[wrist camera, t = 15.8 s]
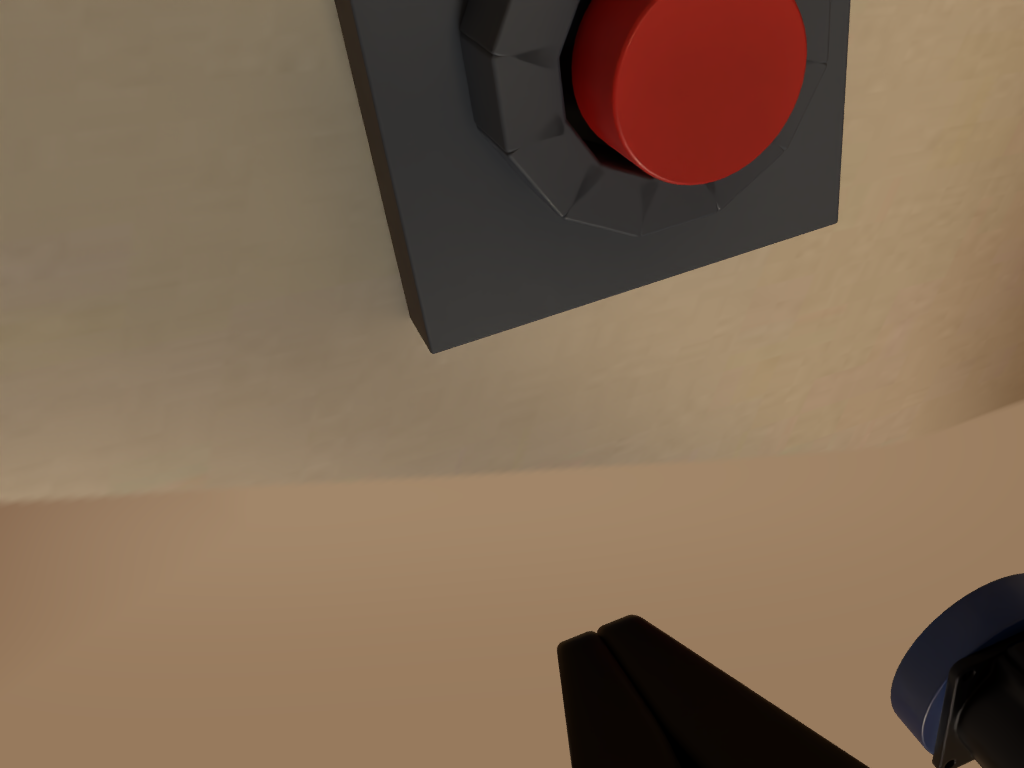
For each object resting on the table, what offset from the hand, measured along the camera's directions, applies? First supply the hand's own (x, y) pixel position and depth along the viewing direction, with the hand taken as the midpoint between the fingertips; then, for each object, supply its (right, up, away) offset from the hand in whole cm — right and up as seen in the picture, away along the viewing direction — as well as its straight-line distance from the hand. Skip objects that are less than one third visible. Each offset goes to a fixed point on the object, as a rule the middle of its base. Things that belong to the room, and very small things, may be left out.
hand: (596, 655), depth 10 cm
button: (+2, +8, +8) cm, 12 cm away
